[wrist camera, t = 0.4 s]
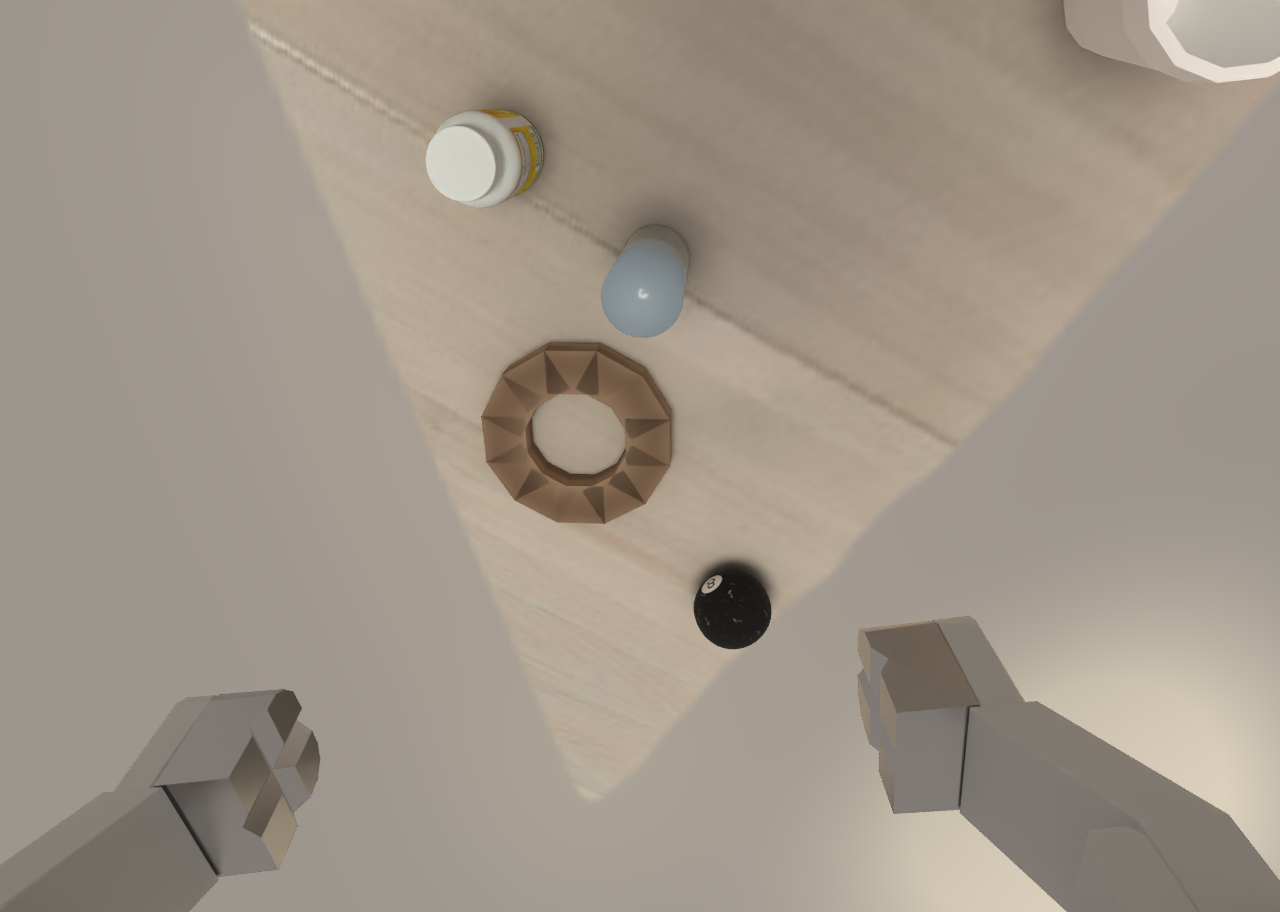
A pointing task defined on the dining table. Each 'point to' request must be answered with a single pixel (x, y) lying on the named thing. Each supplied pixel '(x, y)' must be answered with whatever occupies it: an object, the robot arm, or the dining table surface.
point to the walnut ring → (603, 381)
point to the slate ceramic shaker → (647, 282)
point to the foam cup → (1182, 36)
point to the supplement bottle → (484, 157)
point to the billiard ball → (732, 609)
